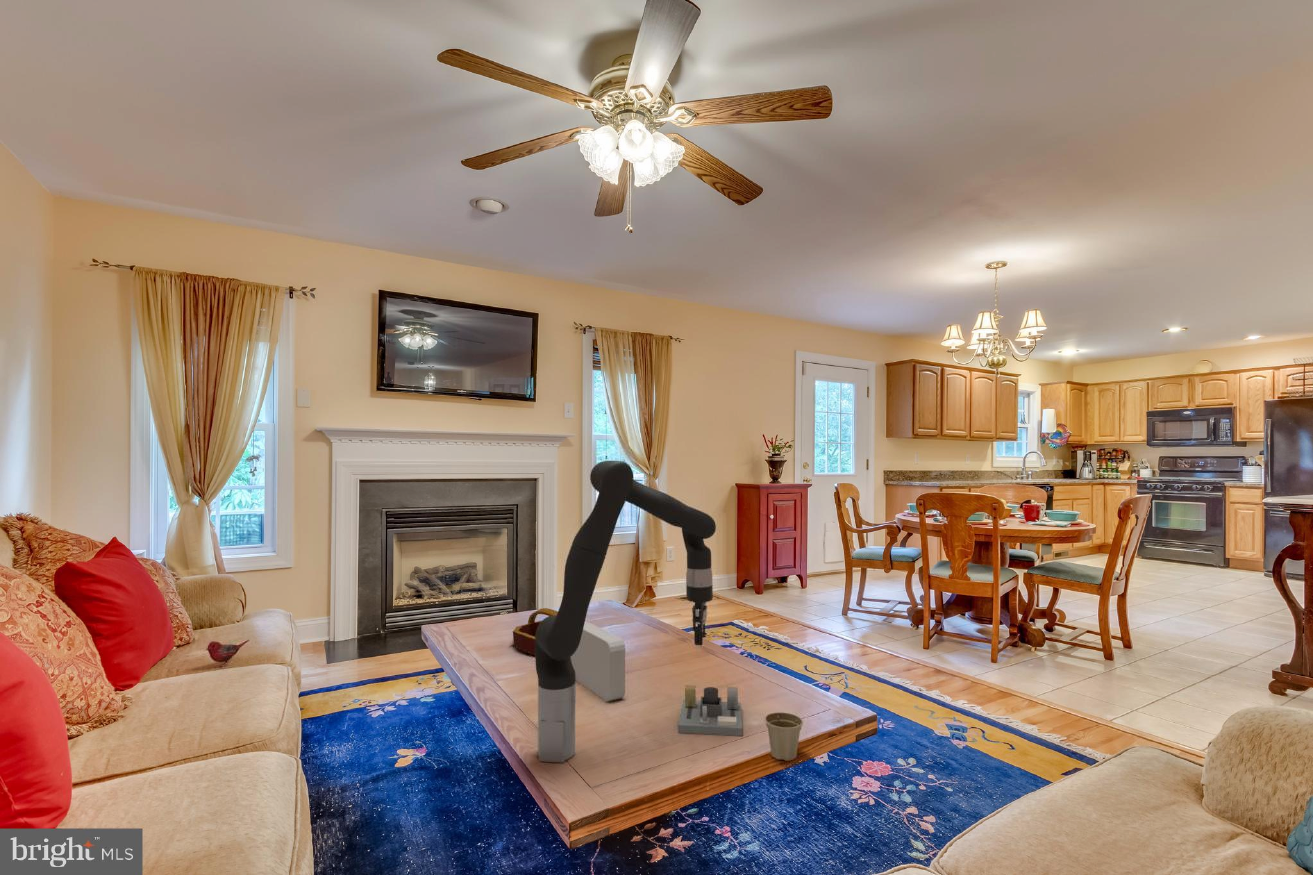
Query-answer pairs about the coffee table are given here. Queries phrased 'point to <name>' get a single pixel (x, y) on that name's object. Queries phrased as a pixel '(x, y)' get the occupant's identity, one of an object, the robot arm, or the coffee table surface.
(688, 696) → the gold rectangular block
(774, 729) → the flower pot
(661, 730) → the coffee table surface
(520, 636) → the decorative basket
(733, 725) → the control board
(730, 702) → the light grey block
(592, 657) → the rounded white slab
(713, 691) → the black button
